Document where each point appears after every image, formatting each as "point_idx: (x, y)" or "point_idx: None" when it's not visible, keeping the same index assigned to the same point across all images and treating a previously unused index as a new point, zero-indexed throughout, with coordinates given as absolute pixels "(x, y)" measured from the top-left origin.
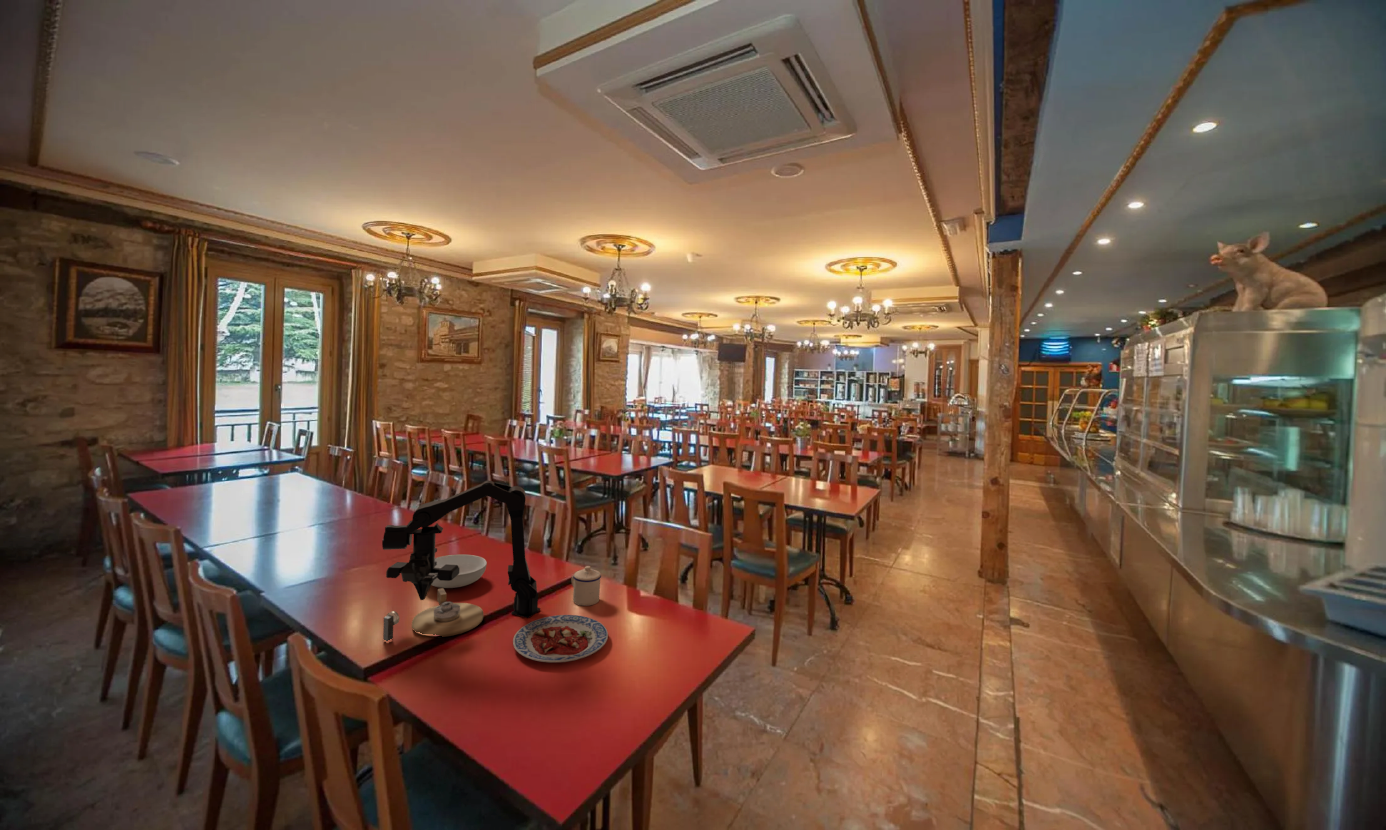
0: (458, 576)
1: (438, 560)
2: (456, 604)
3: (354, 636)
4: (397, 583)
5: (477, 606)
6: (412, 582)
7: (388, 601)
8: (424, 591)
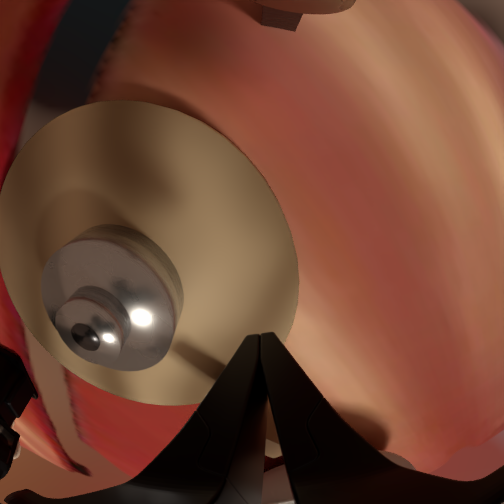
0: (271, 499)
1: None
2: (104, 365)
3: (459, 63)
4: (459, 416)
5: (95, 385)
6: (406, 485)
7: (467, 350)
8: (212, 399)
